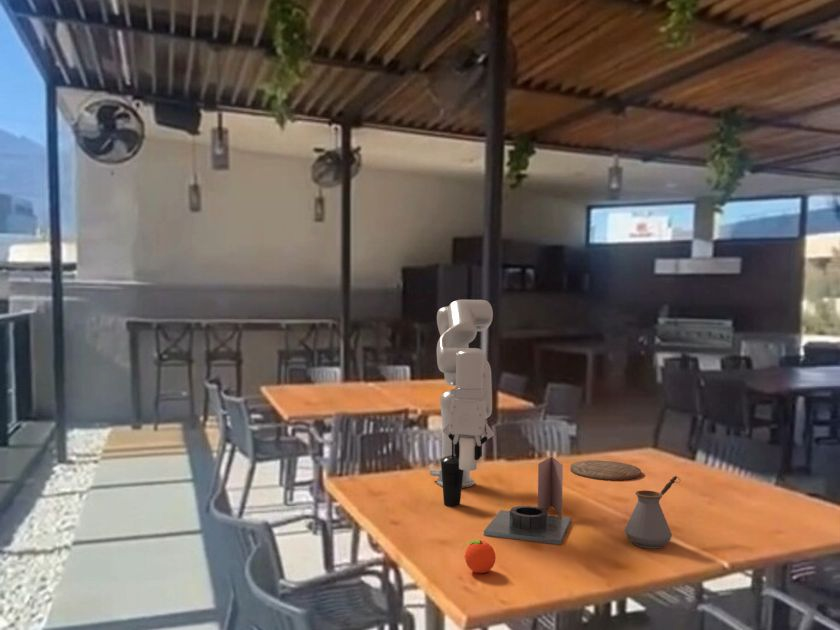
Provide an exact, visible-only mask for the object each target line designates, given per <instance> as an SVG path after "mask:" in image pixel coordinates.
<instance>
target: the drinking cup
mask: <svg viewBox="0 0 840 630" xmlns="http://www.w3.org/2000/svg"><path fill="white" fill-rule="evenodd" d="M439 462H440V469H441V470H442V484H443V486H442V496H443V505H444V506H446V507H450V508H451V507H453V508H454V507H456V508H457V507H460V505H461V497H462V489H463V488H462V480H463V470H461V469H459V458H458V459H456V455H454V444H453V442H452V455H449V456H445V457H443V458H442V457H441V458H440V459H439Z"/></svg>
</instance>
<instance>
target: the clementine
mask: <svg viewBox="0 0 840 630" xmlns="http://www.w3.org/2000/svg"><path fill="white" fill-rule="evenodd" d="M467 544H469V545H468V546H467V547H466V550H465V555H464V559H465V563H466V566H467V567H468V568H469V569H470V571H472V572H474V573H476V574H485V573H487V572H489V571H490V570H492V569H493V567H494V566H495V563H496V559H497V557H496V556H497V555H496V552H495V550H494V548H493V545H491V544H490V543H488V542H487V541H483V540H471V541H468V542H466V543H465V545H467ZM463 549H464V546H462V548H461V551H462V550H463Z"/></svg>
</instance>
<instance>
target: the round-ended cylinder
mask: <svg viewBox="0 0 840 630" xmlns="http://www.w3.org/2000/svg"><path fill="white" fill-rule="evenodd" d="M476 444H477V443H476V439H475V436H469V435H459V469H461V470H470V471H475V470H477V467H478V466H477V465H478V463H477V461H478V460H475V446H476Z"/></svg>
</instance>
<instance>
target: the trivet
mask: <svg viewBox="0 0 840 630" xmlns="http://www.w3.org/2000/svg"><path fill="white" fill-rule="evenodd" d="M570 472H571V473H572V474H573V475H576V476H578V477H582V478H585V479H586V478H587V479H591V480H597V481H608V480H611V482H612V481H613V482H615V481H616V482H618V481H619V482H622V481H624V480H625V481H632V480H631V479H633V480H637V479H639V478H641V476H642V470H641V468H639V467H638V466H636V465H633V464H629V463H625V462H619V461H611V460H598V459H596V460H580V461H576V462H572V463H571V464H570ZM638 477H639V478H638ZM636 478H637V479H636Z"/></svg>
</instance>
